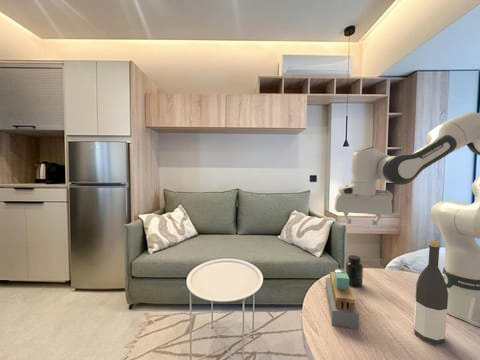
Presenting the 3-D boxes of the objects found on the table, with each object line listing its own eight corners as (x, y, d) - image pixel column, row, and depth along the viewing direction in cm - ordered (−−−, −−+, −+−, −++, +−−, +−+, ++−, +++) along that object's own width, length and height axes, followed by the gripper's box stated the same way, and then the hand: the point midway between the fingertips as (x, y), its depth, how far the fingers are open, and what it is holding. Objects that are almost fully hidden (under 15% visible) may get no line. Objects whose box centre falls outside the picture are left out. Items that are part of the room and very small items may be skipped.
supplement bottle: (358, 280, 114) (360, 254, 113) (364, 287, 107) (366, 260, 106) (343, 279, 115) (344, 253, 114) (348, 287, 108) (349, 259, 107)
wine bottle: (421, 343, 75) (427, 244, 72) (407, 325, 83) (413, 236, 80) (451, 346, 73) (459, 246, 71) (435, 328, 81) (441, 237, 79)
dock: (345, 291, 104) (346, 279, 104) (358, 329, 81) (358, 314, 81) (325, 288, 106) (325, 277, 106) (332, 325, 83) (332, 310, 82)
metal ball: (345, 279, 96) (345, 269, 96) (346, 284, 92) (347, 273, 92) (334, 278, 97) (334, 268, 97) (335, 283, 93) (335, 272, 93)
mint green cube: (346, 284, 92) (347, 273, 92) (348, 289, 89) (349, 278, 88) (335, 283, 93) (335, 272, 93) (336, 288, 89) (337, 277, 89)
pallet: (344, 281, 102) (344, 273, 102) (354, 310, 82) (354, 299, 82) (329, 280, 103) (330, 271, 103) (336, 308, 84) (336, 297, 84)
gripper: (390, 189, 98) (388, 224, 99) (334, 187, 103) (333, 220, 104) (395, 191, 92) (393, 228, 93) (336, 189, 97) (335, 224, 98)
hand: (361, 224), depth 99 cm, fingers open, 8 cm apart
